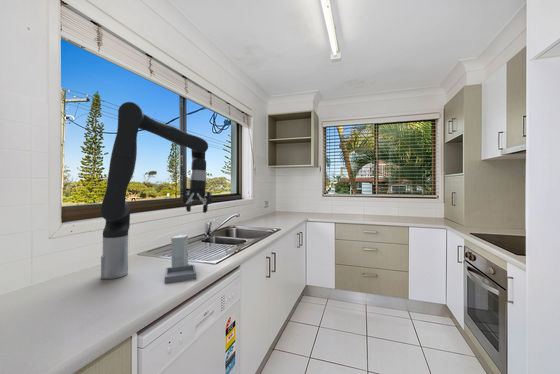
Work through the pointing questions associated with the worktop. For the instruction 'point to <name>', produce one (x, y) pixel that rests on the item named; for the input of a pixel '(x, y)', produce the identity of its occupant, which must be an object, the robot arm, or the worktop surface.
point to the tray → (180, 273)
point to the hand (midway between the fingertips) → (196, 212)
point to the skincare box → (179, 250)
